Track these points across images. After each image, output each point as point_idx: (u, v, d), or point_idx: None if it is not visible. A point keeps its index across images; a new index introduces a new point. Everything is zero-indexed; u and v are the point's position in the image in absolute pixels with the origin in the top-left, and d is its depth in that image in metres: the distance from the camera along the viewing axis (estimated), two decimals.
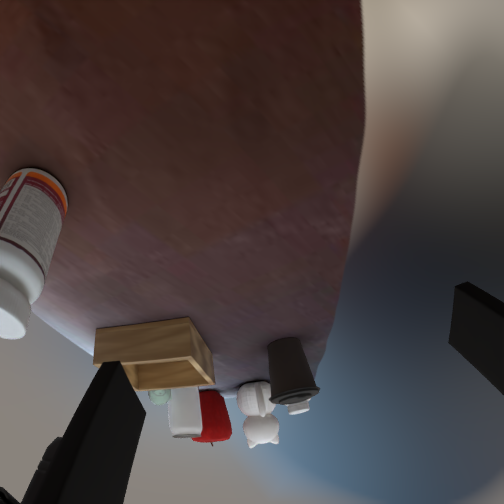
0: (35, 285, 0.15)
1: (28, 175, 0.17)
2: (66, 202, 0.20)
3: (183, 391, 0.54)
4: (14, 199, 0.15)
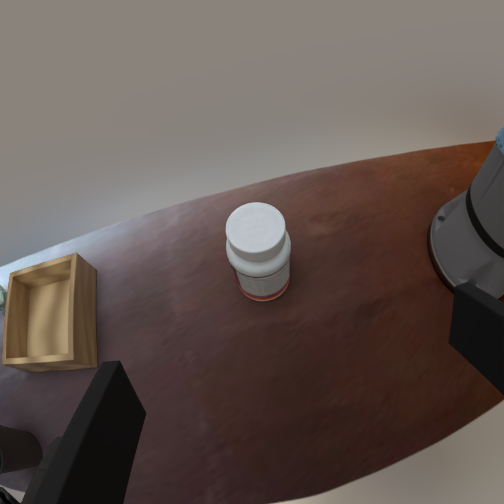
0: (253, 269, 0.27)
1: (288, 279, 0.34)
2: (259, 300, 0.34)
3: None
4: (289, 269, 0.32)
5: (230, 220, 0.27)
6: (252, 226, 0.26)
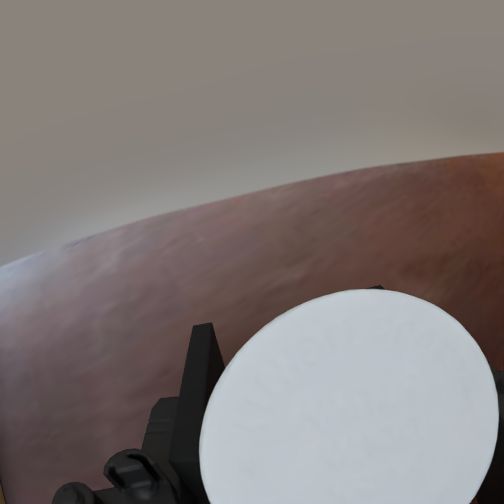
0: None
1: None
2: None
3: None
4: None
5: (225, 407, 0.04)
6: (355, 448, 0.04)
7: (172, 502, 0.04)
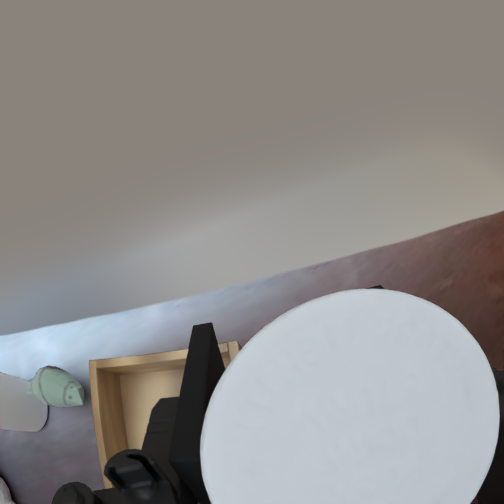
0: None
1: None
2: None
3: (32, 413, 0.22)
4: None
5: (226, 406, 0.04)
6: (356, 449, 0.04)
7: (172, 502, 0.04)
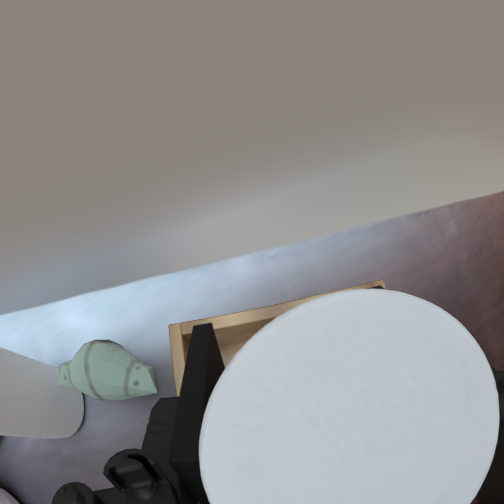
0: None
1: None
2: None
3: (64, 413, 0.17)
4: None
5: (225, 407, 0.04)
6: (355, 448, 0.04)
7: (172, 502, 0.04)
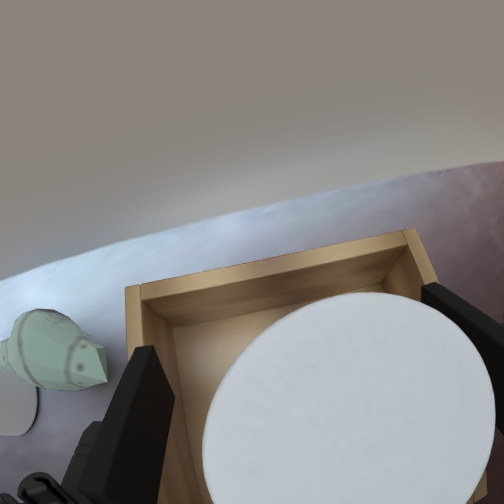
0: None
1: None
2: None
3: (9, 404, 0.12)
4: None
5: (228, 408, 0.04)
6: (354, 449, 0.04)
7: None
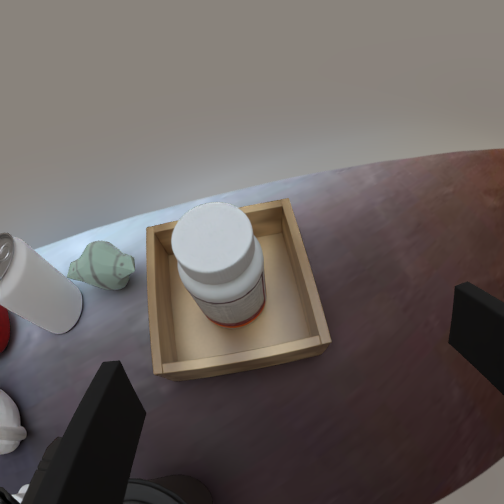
0: (210, 293, 0.20)
1: (264, 302, 0.27)
2: (225, 327, 0.27)
3: (67, 303, 0.27)
4: (263, 291, 0.24)
5: (178, 226, 0.19)
6: (206, 234, 0.19)
7: None
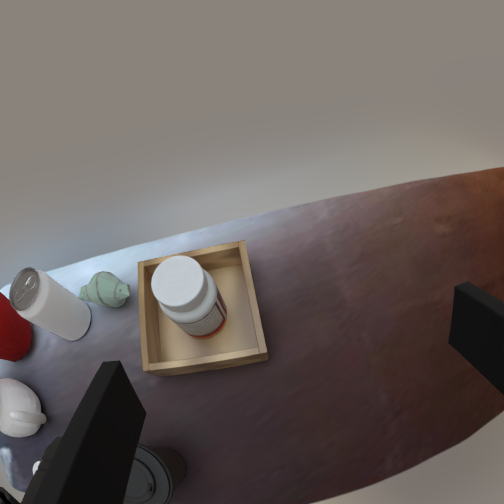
0: (178, 317, 0.29)
1: (224, 320, 0.36)
2: (196, 337, 0.35)
3: (79, 317, 0.36)
4: (221, 313, 0.33)
5: (156, 272, 0.28)
6: (173, 280, 0.27)
7: None
